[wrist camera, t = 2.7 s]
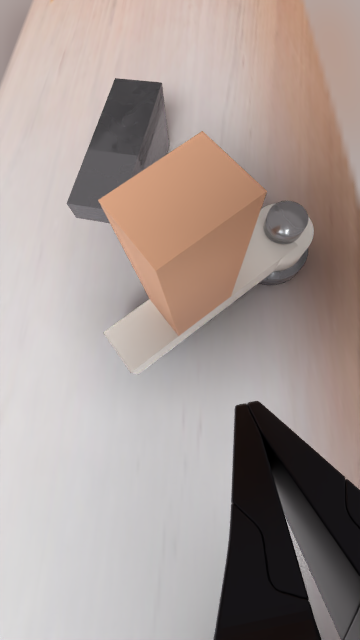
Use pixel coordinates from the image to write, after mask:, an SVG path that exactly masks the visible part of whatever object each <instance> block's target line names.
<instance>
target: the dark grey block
mask: <svg viewBox="0 0 360 640" xmlns="http://www.w3.org/2000/svg"><path fill="white" fill-rule="evenodd" d="M168 148H169V139H168V131H167V122H166V114H165V105H164V97H163V88H162V83H159V82H149V81H138V80H127V79H116V78H115V80H114V83H113V85H112V88H111V91H110V93H109V96H108V98H107V101H106V103H105V106H104V109H103V111H102V114H101V116H100V119H99V122H98V124H97V127H96V129H95V132H94V134H93V137H92V140H91V142H90V145H89V147H88V150H87V152H86V155H85V158H84V160H83V163H82V165H81V168H80V171H79V173H78V176H77V178H76V181H75V183H74V186H73V189H72V191H71V194H70V196H69V199H68V202H67V205H68V206H69V208H70V209H71V210H72V212H73V213H74V215H75V216H76V218H81V219H87V220H94V221H100V222H106V223H110V222H109V220H108V218H107V216H106V214H105V212H104V210H103V209H102V207H101V205H100V203H99V201H98V200H99V199H100V198H102V197H104V196H105V195H107V194H108V193H110V192H111V191H113V190H114V189H116V188H117V187H119V186H120V185H122V184H123V183H125V182H126V181H128V180H129V179H131V178H132V177H134V176H135V175H137V174H138V173H140V172H141V171H143V170H144V169H146V168H147V167H149V166H150V165H152V164H153V163H155V162H156V161H158V160H159V159H161V158H162V157H164V156H165V155H167V152H168Z"/></svg>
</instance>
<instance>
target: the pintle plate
mask: <svg viewBox="0 0 360 640" xmlns="http://www.w3.org/2000/svg"><path fill="white" fill-rule="evenodd" d="M307 224H308V214H307V212H306V210H305V209H304V208H303V207H302V206H301V205H300V204H298V203H296V202H292V201H281V202H278V203H276V204H274V205H273V206H272V207H271V208H270V210H269V212H268V214H267V217H266V219H265V222H264V226H263V228H264V232H265V235H266V236H267V237H268V238H269V239H270V240H271V241H273V242H275V243H278V244H290V243H293V242H294V241H296V240H297V239H298V238H299V237H300V235H301V234H302V232H303V231H304V229H305V228H306V226H307ZM307 256H308V248H307V249H306V251H305V252H304V253H303V254H302V256H301V257H300V258H299V260H298V261H297V262H296V263H295V264H294V265H293V266H292V267H290V268H288V269H286V270H283V271H274V272H272V273H271V274H270V275H268V276H267V277H266V278H264V279H263V280H262V281H261V282H259V283H261V284H266V285H275V284H281V283H284V282H286V281H288V280H290V279H291V278H293V277H294V276H295V275H296V274H297V272H298V271H299V270H300V269H301V268H302V266H303V265H304V263H305V261H306V259H307Z"/></svg>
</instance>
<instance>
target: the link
mask: <svg viewBox="0 0 360 640" xmlns="http://www.w3.org/2000/svg"><path fill="white" fill-rule="evenodd" d="M266 193H267V191H266V190H265V189H264V188H263V187H262V186H261V185H260V184H259V183H258V182H256V181H255V180H254V179H253V178H252V177H251V176H250V175H249V174H248V173H247V172H246V171H245V170H244V169H243V168H241V167H240V166H239V165H238V164H237V163H236V162H235V161H234V160H233V159H232V158H231V157H230V156H229V155H228V154H226V153H225V152H224V151H223V150H222V149H221V148H220V147H219V146H218V145H217V144H216V143H215V142H214V141H213V140H211V139H210V138H209V137H208V136H207V135H206V134H205V133H204V132H203V131H202V132H200V133H199V134H197V135H196V136H194V137H193V138H191V139H190V140H188V141H187V142H185V143H184V144H182V145H181V146H179V147H178V148H176V149H175V150H173V151H172V152H170V153H169V154H167V155H165V156H164V157H162V158H161V159H159V160H158V161H156V162H155V163H153V164H152V165H150V166H149V167H147V168H146V169H144V170H143V171H141V172H140V173H138V174H137V175H135V176H134V177H132V178H131V179H129V180H128V181H126V182H125V183H123V184H122V185H120V186H119V187H117V188H116V189H114V190H113V191H111V192H110V193H108V194H107V195H105V196H104V197H102V198H100V199H99V200H98V201H99V203H100V205H101V207H102V209H103V210H104V212H105V214H106V216H107V218H108V220H109V222H110V224H111V226H112V228H113V230H114V232H115V233H116V235H117V237H118V239H119V241H120V243H121V245H122V247H123V249H124V251H125V253H126V255H127V256H128V258H129V260H130V262H131V264H132V266H133V268H134V270H135V272H136V274H137V276H138V278H139V279H140V281H141V283H142V285H143V287H144V289H145V291H146V293H147V295H148V297H149V300H147V301H146V302H145V303H143V304H142V305H140V306H139V307H138V308H136V309H135V310H134V311H132V312H131V313H129V314H128V315H127V316H125V317H124V318H123V319H121V320H120V321H118V322H117V323H116V324H114V325H113V326H112V327H110V328H109V329H108V330H106V331H105V332H103V333H104V335H105V336H106V338H107V339H108V341H109V342H110V344H111V345H112V346H113V348H114V349H115V351H116V352H117V354H118V355H119V357H120V358H121V360H122V361H123V362H124V364H125V365H126V367H127V368H128V370H129V371H130V373H133V374H137V375H138V374H140V373H141V372H142V371H144V370H145V369H146V368H148V367H149V366H150V365H152V364H153V363H154V362H156V361H157V360H158V359H159V358H161V357H162V356H163V355H165V354H166V353H167V352H169V351H170V350H171V349H173V348H174V347H175V346H177V345H178V344H179V343H180V342H182V341H183V340H184V339H186V338H187V337H188V336H190V335H191V334H192V333H194V332H195V331H196V330H198V329H199V328H200V327H201V326H203V325H204V324H205V323H207V322H208V321H209V320H211V319H212V318H213V317H215V316H216V315H217V314H219V313H220V312H221V311H222V310H224V309H225V308H226V307H228V306H229V305H230V304H232V303H233V302H234V301H236V300H237V299H238V298H240V297H241V296H242V295H243V294H245V293H246V292H247V291H249V290H250V289H251V288H253V287H254V286H255V285H257V284H258V283H259V282H261V281H262V280H263V279H264V278H266V277H267V276H268V275H270V274H271V273H272V272H274V271H283V270H286V269H288V268H290V267H292V266H293V265H294V264H295V263H296V262H297V261H298V260H299V258H300V257H301V256H302V254H303V253H304V252H305V251H306V249H307V248H308V247H309V245H310V244H311V242H312V239H313V236H314V228H313V224H312V221H311V220H310V218H309V217H308V224H307V226H306V228H305V229H304V231H303V232H302V234H301V235H300V237H299V238H298V239H297V240H296V241H294V242H293V243H290V244H278V243H275V242H273V241H271V240H270V239H269V238H268V237H267V236H266V235H265V232H264V228H263V226H264V222H265V219H266V217H267V214H268V212H269V210H270V208H271V207H272V206H273V205H274V204H271V205H268V206H265V207H263V208H262V209H261V207H262V205H263V202H264V199H265V196H266Z"/></svg>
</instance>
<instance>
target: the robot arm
mask: <svg viewBox="0 0 360 640" xmlns="http://www.w3.org/2000/svg"><path fill="white" fill-rule="evenodd" d="M231 503H232V504H231V519H230V533H229V543H228V551H227V559H226V566H225V572H224V578H223V585H222V591H221V597H220V604H219V610H218V616H217V623H216V629H215V634H214V640H321V637H320V634H319V631H318V628H317V625H316V622H315V619H314V615H313V612H312V609H311V605H310V602H309V601H308V595H307V591H306V588H305V584H304V581H303V577H302V574H301V571H300V567H299V564H298V560H297V557H296V553H295V550H294V546H293V543H292V539H291V536H290V532H289V529H288V525H287V522H286V519H287V521H288V523H289V525H290V527H291V530H292V532H293V534H294V536H295V539H296V541H297V543H298V545H299V547H300V550H301V552H302V554H303V556H304V558H305V561H306V563H307V565H308V567H309V570H310V572H311V574H312V576H313V578H314V581H315V583H316V585H317V587H318V589H319V592H320V594H321V596H322V598H323V601H324V603H325V605H326V607H327V609H328V612H329V614H330V616H331V618H332V620H333V623H334V625H335V627H336V629H337V631H338V634H339V636H340V638H341V640H360V490H359V489H358V488H357V487H356V486H355V485H354V484H352V483H351V482H350V481H349V480H348V479H346V480H345V477H344V476H343V475H342V474H341V473H340V472H339V471H338V470H336V469H335V468H334V467H333V466H332V465H331V464H330V463H328V462H327V461H326V460H325V459H324V458H323V457H322V456H320V455H319V454H318V453H317V452H316V451H315V450H314V449H313V448H311V447H310V446H309V445H308V444H307V443H306V442H305V441H303V440H302V439H301V438H300V437H299V436H298V435H297V434H295V433H294V432H293V431H292V430H291V429H290V428H289V427H287V426H286V425H285V424H284V423H283V422H282V421H281V420H280V419H278V418H277V417H276V416H275V415H274V414H273V413H272V412H270V411H269V410H268V409H267V408H266V407H265V406H264V405H262V404H261V403H260V402H259V401H254V402H249V403H247V404H240V405H236V406H235V419H234V445H233V471H232V497H231ZM284 514H285V515H284ZM285 516H286V519H285Z"/></svg>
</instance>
